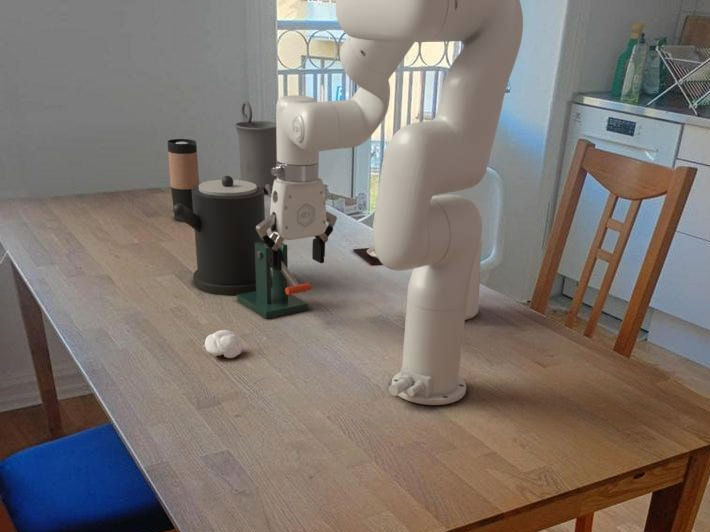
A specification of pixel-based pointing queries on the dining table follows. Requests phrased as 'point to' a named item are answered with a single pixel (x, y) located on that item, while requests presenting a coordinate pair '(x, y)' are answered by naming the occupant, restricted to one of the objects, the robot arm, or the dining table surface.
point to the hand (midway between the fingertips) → (297, 265)
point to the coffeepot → (474, 286)
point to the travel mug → (183, 171)
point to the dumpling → (223, 344)
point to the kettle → (225, 234)
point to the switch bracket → (265, 297)
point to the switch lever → (293, 282)
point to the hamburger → (368, 255)
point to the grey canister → (257, 150)
